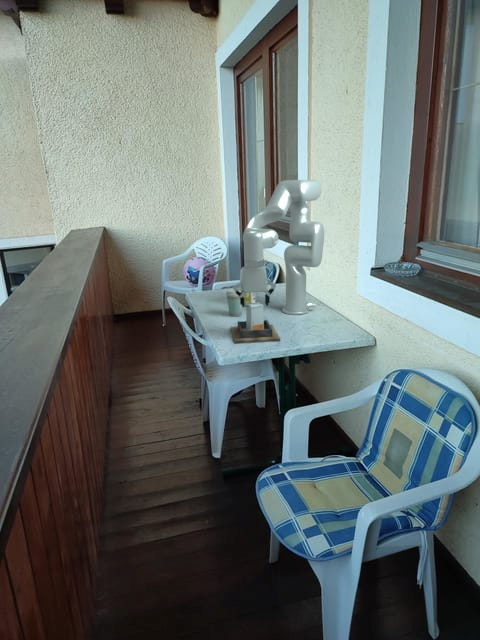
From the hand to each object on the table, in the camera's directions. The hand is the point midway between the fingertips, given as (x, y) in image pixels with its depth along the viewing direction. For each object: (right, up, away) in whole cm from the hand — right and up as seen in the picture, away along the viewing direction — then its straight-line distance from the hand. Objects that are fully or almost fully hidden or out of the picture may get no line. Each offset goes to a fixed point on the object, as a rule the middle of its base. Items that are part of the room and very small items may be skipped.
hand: (254, 305), depth 178 cm
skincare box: (0, -11, +3) cm, 12 cm away
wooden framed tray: (0, -12, +3) cm, 12 cm away
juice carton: (-2, +2, +46) cm, 46 cm away
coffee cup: (-8, -4, +30) cm, 32 cm away
